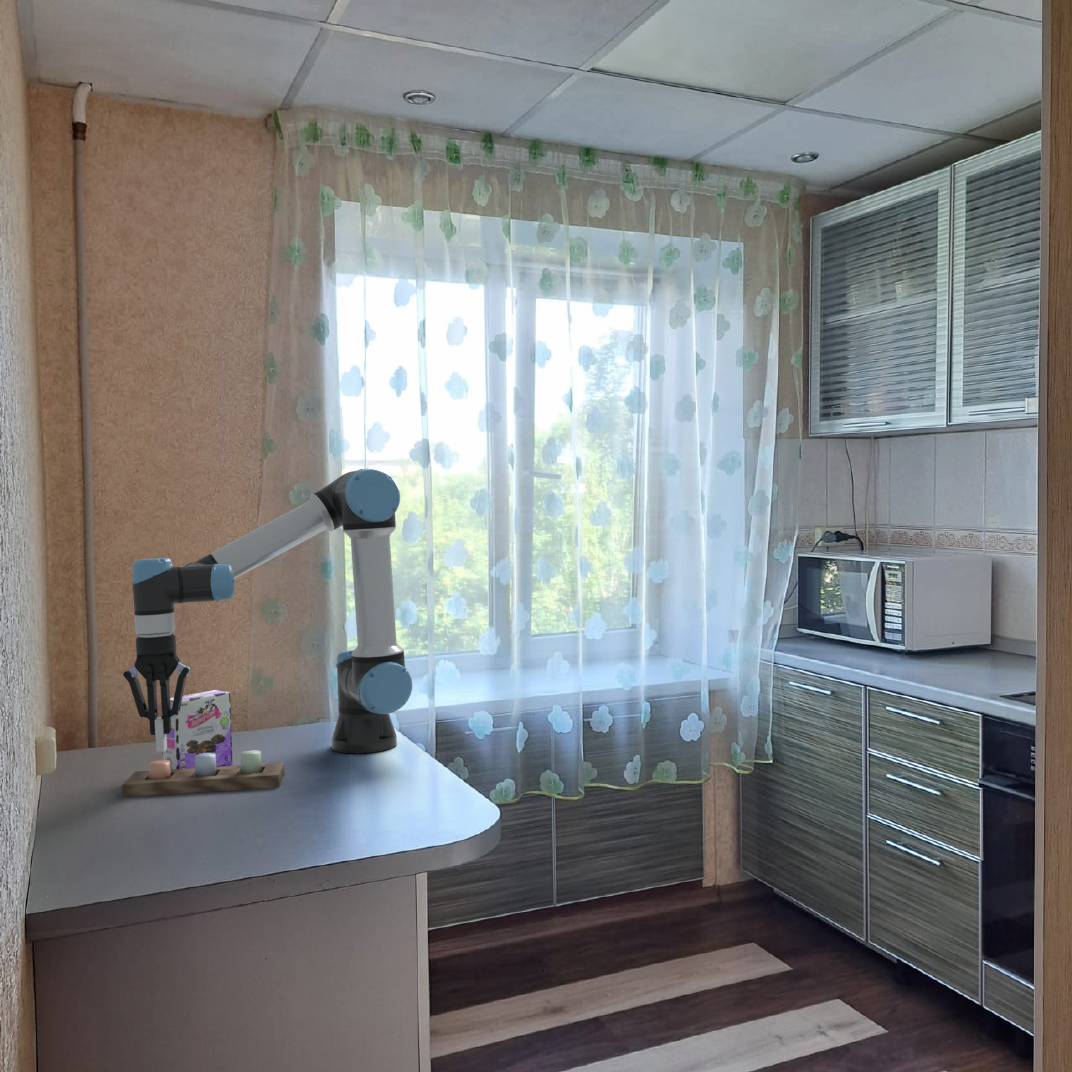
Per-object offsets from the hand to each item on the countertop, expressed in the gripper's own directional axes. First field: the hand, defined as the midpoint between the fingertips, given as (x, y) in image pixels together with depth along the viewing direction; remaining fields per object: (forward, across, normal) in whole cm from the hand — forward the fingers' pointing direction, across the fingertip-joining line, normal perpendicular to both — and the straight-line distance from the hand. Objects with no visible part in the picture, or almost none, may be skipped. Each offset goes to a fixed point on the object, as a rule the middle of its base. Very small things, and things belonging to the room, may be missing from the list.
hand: (161, 750), depth 198 cm
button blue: (+6, -8, 0) cm, 10 cm away
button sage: (+6, -17, 0) cm, 18 cm away
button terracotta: (+6, +1, 0) cm, 6 cm away
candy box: (+8, -4, -14) cm, 16 cm away
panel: (+8, -8, 0) cm, 11 cm away
